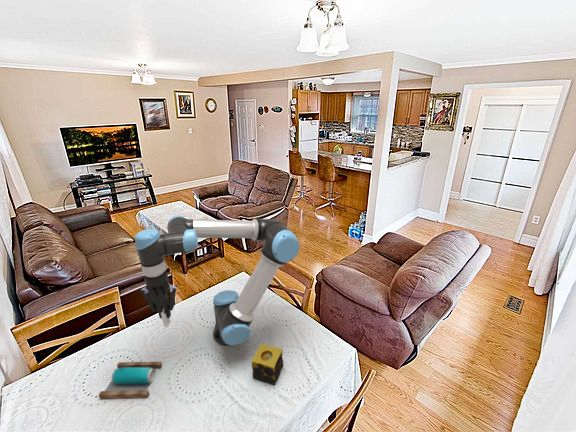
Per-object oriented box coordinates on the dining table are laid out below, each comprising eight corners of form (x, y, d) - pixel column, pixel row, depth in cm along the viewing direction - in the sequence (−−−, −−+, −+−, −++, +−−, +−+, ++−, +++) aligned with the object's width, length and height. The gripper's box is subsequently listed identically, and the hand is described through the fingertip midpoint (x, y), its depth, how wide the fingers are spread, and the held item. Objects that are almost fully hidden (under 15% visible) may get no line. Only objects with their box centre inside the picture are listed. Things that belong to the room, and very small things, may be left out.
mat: (155, 369, 120) (155, 368, 120) (144, 394, 110) (144, 393, 110) (117, 370, 120) (117, 369, 120) (102, 395, 110) (102, 394, 110)
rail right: (162, 365, 122) (161, 361, 121) (160, 368, 121) (159, 364, 120) (120, 366, 122) (118, 362, 121) (118, 369, 120) (116, 365, 119)
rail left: (149, 394, 110) (148, 390, 109) (147, 398, 108) (146, 393, 108) (102, 395, 109) (100, 391, 109) (100, 399, 108) (98, 394, 107)
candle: (283, 365, 122) (283, 348, 118) (275, 386, 113) (274, 368, 109) (262, 359, 125) (261, 342, 121) (252, 378, 116) (251, 361, 113)
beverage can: (156, 365, 117) (120, 365, 117) (149, 370, 112) (111, 370, 112) (155, 380, 116) (118, 380, 116) (148, 386, 111) (110, 386, 111)
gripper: (177, 265, 104) (186, 316, 112) (140, 267, 103) (153, 318, 112) (170, 277, 97) (181, 330, 106) (131, 279, 96) (146, 332, 105)
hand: (167, 323), depth 109 cm, fingers closed
